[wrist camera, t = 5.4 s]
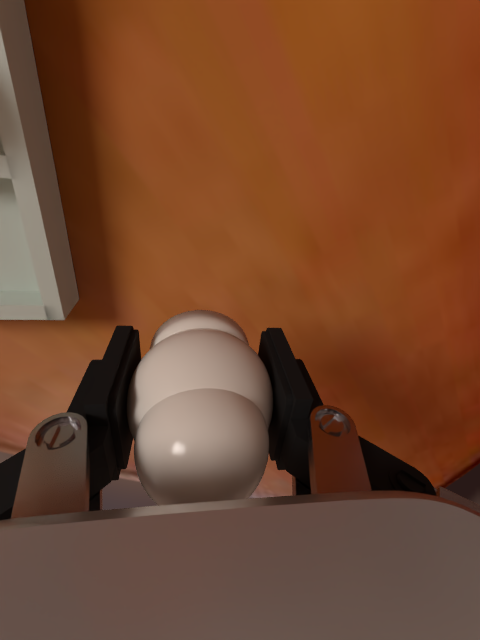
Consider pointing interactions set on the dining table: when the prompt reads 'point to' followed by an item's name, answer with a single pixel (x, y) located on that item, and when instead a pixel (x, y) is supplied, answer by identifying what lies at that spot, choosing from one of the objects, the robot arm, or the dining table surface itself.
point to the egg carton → (28, 188)
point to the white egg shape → (200, 412)
